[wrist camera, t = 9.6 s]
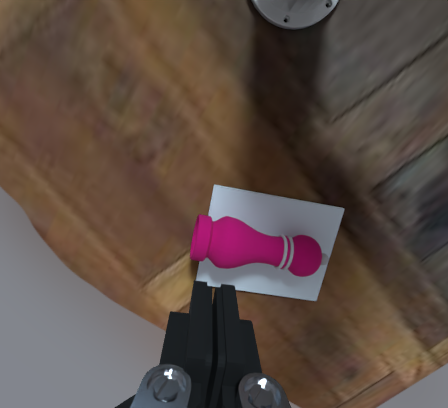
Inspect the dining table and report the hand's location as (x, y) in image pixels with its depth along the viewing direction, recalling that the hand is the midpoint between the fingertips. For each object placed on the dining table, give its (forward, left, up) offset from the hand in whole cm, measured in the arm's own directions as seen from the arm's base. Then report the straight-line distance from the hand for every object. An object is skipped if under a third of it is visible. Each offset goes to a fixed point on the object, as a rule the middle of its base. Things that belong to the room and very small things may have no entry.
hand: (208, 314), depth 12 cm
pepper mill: (+8, -1, -28) cm, 29 cm away
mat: (+9, +11, -32) cm, 35 cm away
